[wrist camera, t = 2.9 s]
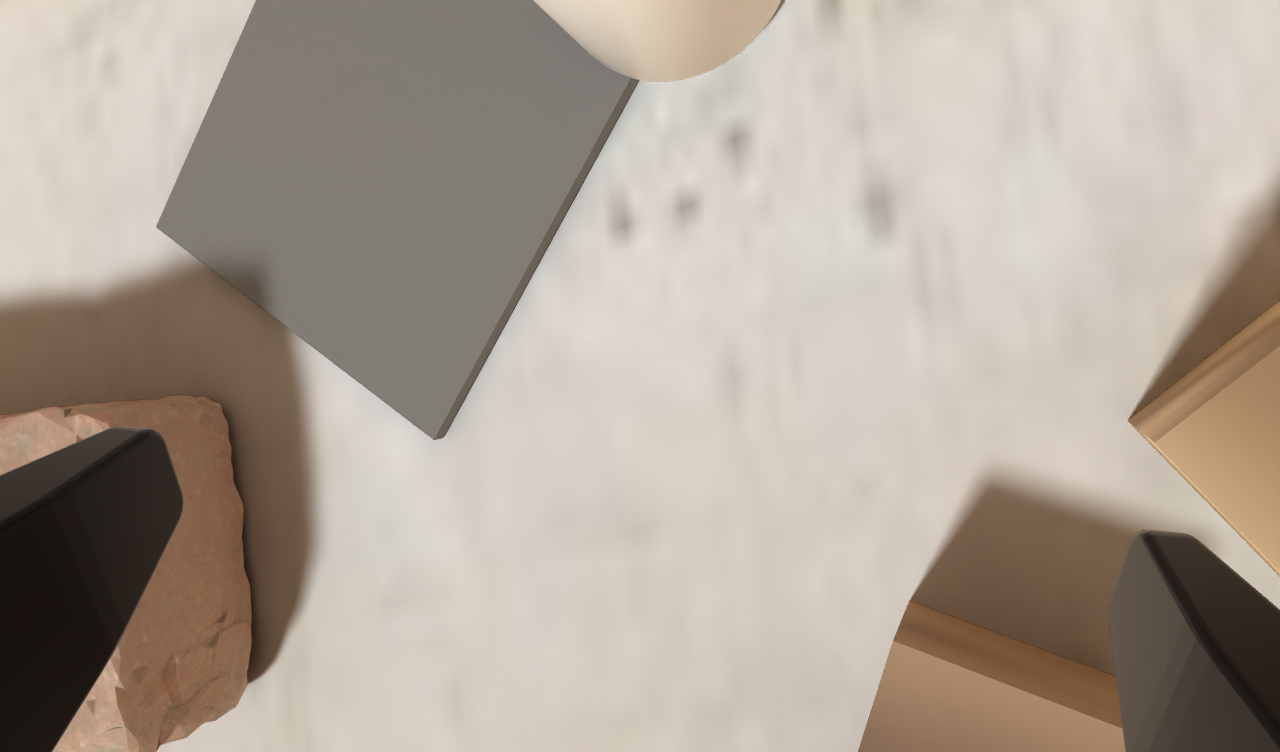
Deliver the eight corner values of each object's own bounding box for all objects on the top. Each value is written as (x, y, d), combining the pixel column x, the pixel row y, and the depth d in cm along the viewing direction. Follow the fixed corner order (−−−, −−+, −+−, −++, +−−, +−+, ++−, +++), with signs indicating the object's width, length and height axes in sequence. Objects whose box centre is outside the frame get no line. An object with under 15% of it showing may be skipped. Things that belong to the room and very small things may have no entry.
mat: (443, 438, 24) (433, 440, 23) (168, 228, 27) (156, 226, 26) (651, 58, 22) (644, 53, 21) (326, -128, 24) (316, -135, 24)
